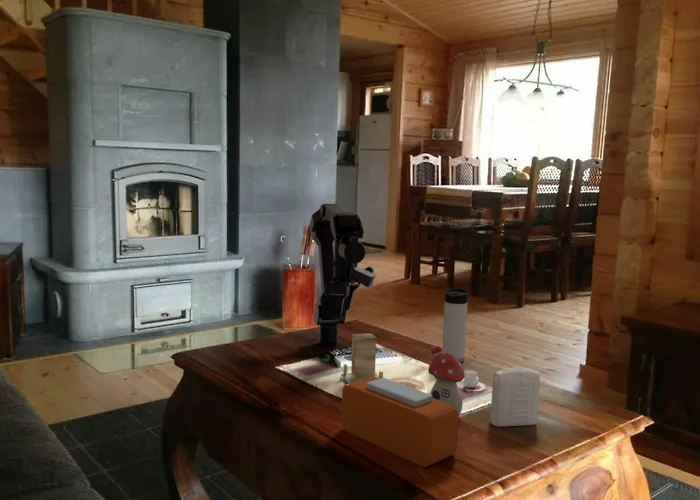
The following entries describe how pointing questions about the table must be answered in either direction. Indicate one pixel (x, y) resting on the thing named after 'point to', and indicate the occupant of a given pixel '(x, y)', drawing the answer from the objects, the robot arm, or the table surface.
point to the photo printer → (515, 397)
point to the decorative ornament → (446, 378)
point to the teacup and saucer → (472, 380)
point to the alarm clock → (400, 420)
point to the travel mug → (455, 323)
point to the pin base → (351, 377)
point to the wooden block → (363, 356)
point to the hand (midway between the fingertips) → (343, 313)
